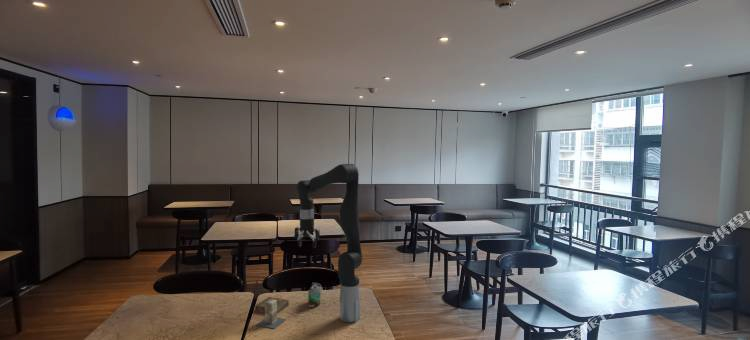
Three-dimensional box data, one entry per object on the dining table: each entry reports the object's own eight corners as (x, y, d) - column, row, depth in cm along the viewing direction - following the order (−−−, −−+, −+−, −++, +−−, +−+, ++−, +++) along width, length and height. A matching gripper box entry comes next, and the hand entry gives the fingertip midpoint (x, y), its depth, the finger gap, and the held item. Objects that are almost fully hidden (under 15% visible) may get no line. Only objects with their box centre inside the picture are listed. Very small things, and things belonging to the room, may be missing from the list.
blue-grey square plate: (286, 319, 183) (286, 319, 183) (274, 329, 174) (274, 328, 174) (268, 316, 187) (268, 315, 187) (255, 325, 177) (255, 324, 177)
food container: (319, 309, 195) (319, 290, 195) (308, 309, 195) (308, 290, 195) (323, 300, 208) (323, 282, 207) (312, 300, 208) (312, 282, 207)
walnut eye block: (288, 305, 200) (288, 299, 200) (275, 314, 189) (275, 308, 189) (269, 302, 204) (269, 296, 204) (255, 311, 193) (255, 305, 193)
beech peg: (277, 320, 182) (277, 300, 181) (272, 324, 178) (272, 303, 177) (269, 319, 183) (269, 299, 182) (264, 323, 179) (264, 302, 178)
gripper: (291, 217, 203) (291, 247, 204) (315, 219, 199) (315, 250, 199) (298, 215, 210) (299, 244, 211) (322, 217, 206) (322, 246, 206)
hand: (307, 247), depth 205 cm, fingers open, 8 cm apart
